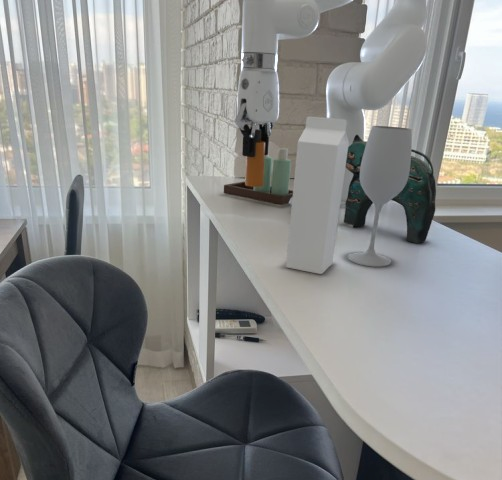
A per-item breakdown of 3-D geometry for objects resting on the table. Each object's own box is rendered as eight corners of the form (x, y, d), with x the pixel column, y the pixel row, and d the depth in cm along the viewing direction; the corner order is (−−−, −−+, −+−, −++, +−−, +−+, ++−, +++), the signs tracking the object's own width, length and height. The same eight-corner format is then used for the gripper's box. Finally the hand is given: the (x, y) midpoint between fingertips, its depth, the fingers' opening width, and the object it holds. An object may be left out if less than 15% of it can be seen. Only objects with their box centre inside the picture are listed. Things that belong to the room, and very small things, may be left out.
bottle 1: (271, 195, 129) (275, 146, 124) (267, 198, 125) (270, 147, 120) (255, 194, 130) (258, 144, 124) (250, 196, 126) (254, 146, 121)
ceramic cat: (333, 223, 108) (347, 123, 99) (350, 220, 113) (365, 123, 104) (417, 246, 96) (441, 133, 87) (433, 241, 100) (457, 133, 92)
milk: (297, 258, 85) (312, 115, 75) (332, 264, 83) (352, 119, 73) (285, 267, 80) (299, 116, 70) (322, 275, 78) (341, 119, 68)
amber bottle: (265, 184, 119) (267, 129, 113) (260, 187, 115) (263, 131, 110) (248, 182, 120) (249, 128, 114) (242, 185, 116) (244, 129, 110)
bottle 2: (289, 199, 126) (293, 148, 121) (285, 202, 122) (290, 150, 117) (272, 197, 127) (276, 147, 122) (268, 200, 123) (272, 148, 118)
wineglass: (338, 254, 88) (357, 124, 79) (375, 252, 91) (397, 126, 81) (362, 268, 82) (384, 129, 73) (401, 265, 84) (428, 130, 75)
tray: (299, 202, 126) (300, 191, 125) (280, 207, 120) (281, 196, 119) (243, 191, 135) (244, 181, 134) (223, 195, 129) (223, 184, 128)
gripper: (249, 62, 98) (246, 160, 106) (295, 66, 110) (289, 154, 118) (219, 61, 102) (218, 156, 110) (266, 65, 114) (262, 150, 122)
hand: (255, 154), depth 114 cm, fingers closed on amber bottle, 4 cm apart
